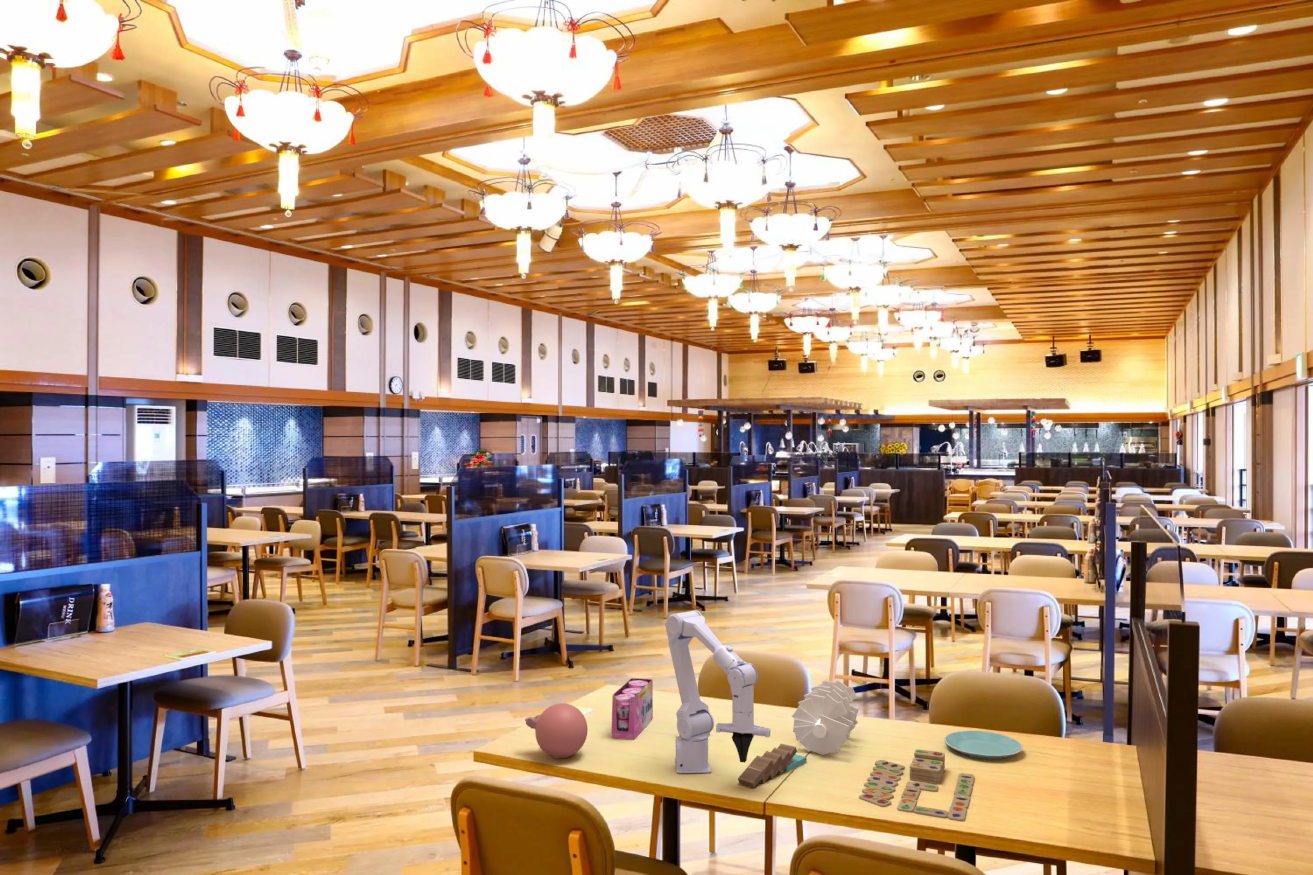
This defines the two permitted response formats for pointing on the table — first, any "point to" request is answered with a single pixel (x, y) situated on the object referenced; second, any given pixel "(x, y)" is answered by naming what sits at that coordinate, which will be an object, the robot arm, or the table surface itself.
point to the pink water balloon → (559, 730)
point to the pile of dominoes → (917, 785)
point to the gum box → (632, 708)
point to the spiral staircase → (825, 717)
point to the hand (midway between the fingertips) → (743, 760)
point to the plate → (983, 744)
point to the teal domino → (795, 762)
